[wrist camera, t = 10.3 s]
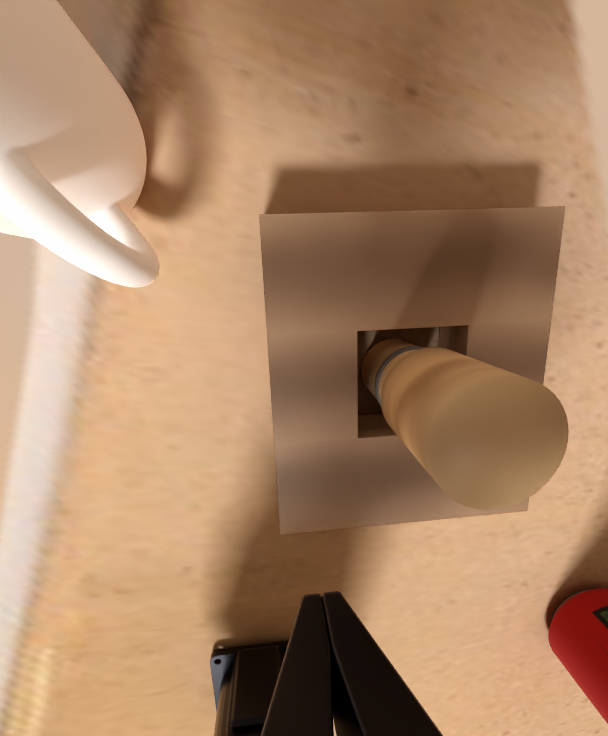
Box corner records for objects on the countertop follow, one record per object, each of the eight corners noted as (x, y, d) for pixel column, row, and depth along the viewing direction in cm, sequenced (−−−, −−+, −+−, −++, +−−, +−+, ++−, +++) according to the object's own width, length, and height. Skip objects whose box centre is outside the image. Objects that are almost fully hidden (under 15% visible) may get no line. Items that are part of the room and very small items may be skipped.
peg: (426, 402, 21) (558, 503, 11) (354, 407, 21) (427, 516, 11) (429, 329, 20) (578, 372, 10) (354, 333, 20) (434, 381, 10)
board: (494, 482, 23) (527, 510, 20) (279, 501, 22) (280, 534, 19) (520, 218, 19) (565, 206, 16) (261, 225, 18) (259, 214, 15)
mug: (240, 232, 18) (200, 168, 8) (122, 335, 19) (-49, 395, 9) (53, 2, 15) (-366, -538, 5) (-77, 134, 16) (-669, -121, 6)
